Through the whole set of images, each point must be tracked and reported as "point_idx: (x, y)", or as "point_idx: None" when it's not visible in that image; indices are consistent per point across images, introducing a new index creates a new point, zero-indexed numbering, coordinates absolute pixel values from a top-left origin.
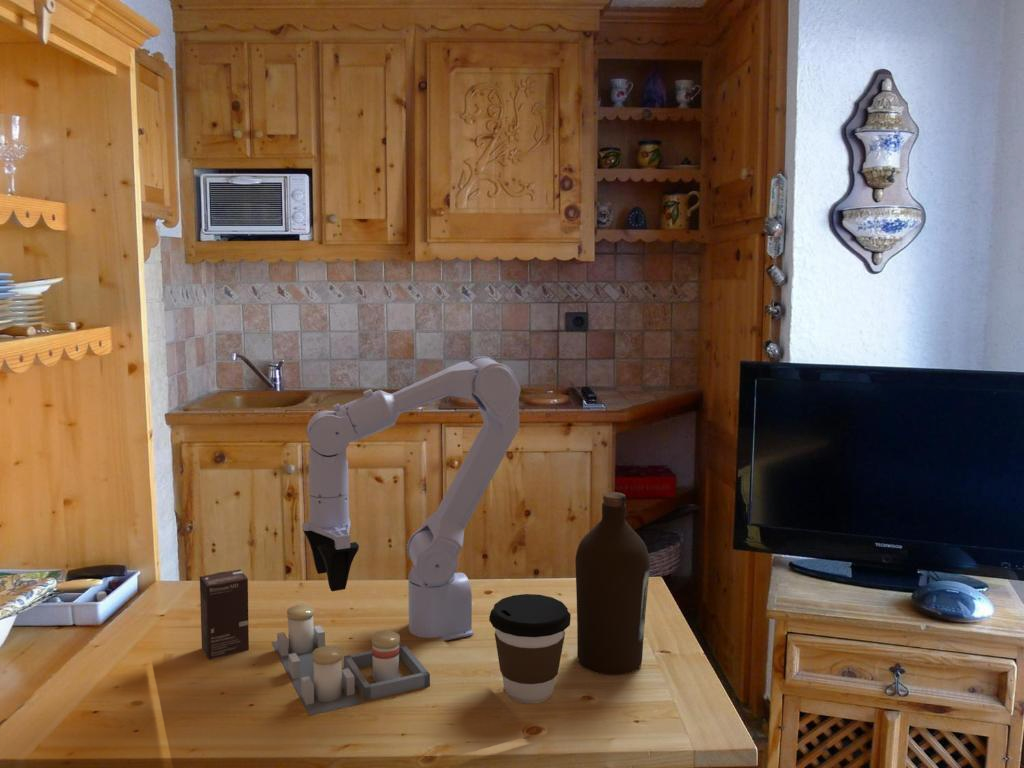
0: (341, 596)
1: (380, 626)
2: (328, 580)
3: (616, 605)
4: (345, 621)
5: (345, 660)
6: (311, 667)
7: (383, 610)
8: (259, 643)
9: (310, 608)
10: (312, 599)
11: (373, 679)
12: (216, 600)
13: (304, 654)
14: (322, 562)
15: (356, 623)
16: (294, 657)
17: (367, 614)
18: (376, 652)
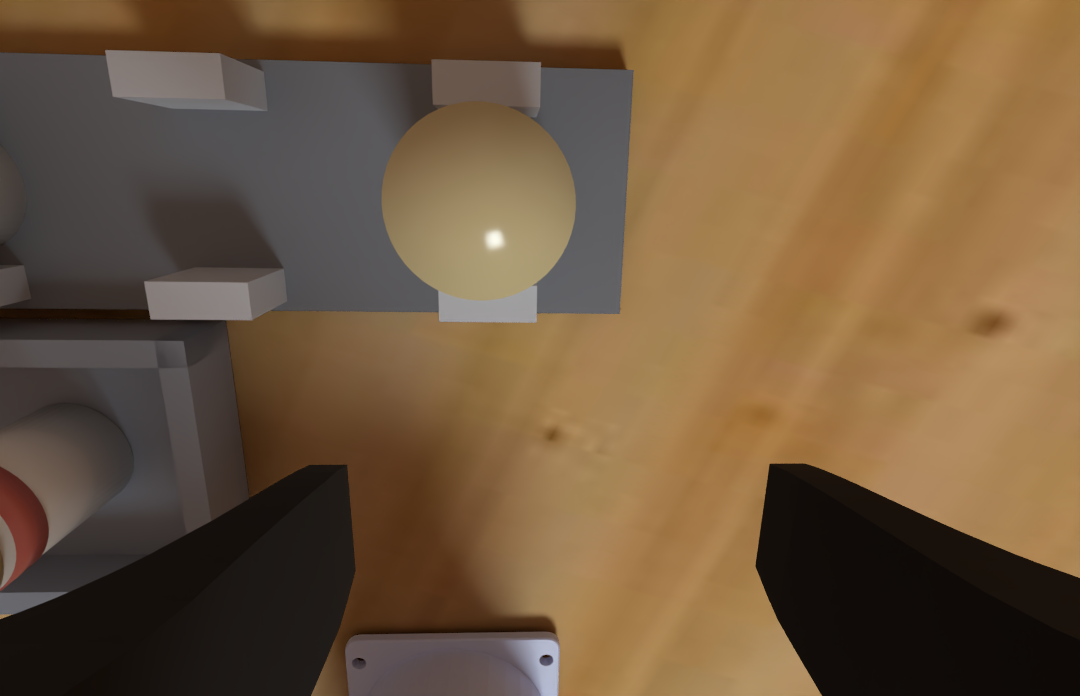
0: (989, 513)
1: (603, 569)
2: (274, 496)
3: None
4: (726, 460)
5: (161, 338)
6: (264, 188)
7: (746, 620)
8: (704, 24)
9: (472, 278)
10: (1043, 393)
11: (51, 406)
12: None
13: None
14: (816, 562)
15: (682, 494)
16: (165, 76)
17: (744, 556)
18: None
